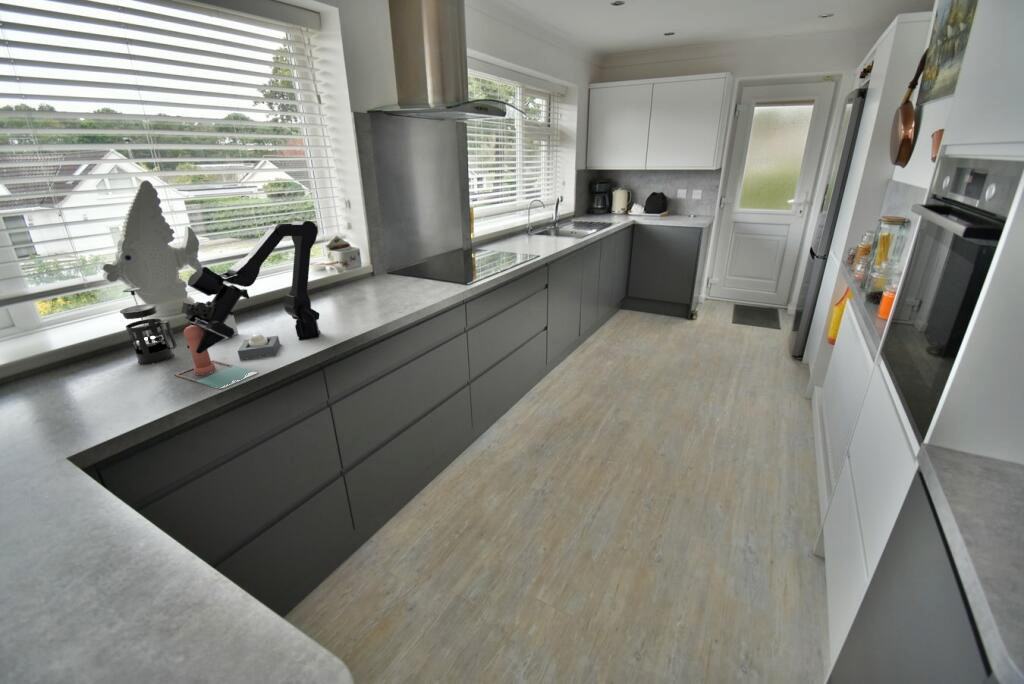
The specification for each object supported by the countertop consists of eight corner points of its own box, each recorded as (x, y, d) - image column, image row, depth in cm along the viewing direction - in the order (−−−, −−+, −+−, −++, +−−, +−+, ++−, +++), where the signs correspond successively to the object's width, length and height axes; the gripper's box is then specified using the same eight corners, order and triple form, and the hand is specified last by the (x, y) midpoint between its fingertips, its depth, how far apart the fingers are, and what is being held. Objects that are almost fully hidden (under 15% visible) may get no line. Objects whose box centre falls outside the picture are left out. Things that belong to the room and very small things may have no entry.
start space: (213, 360, 142) (213, 360, 142) (235, 366, 137) (235, 365, 137) (174, 375, 133) (174, 374, 133) (197, 382, 128) (196, 381, 128)
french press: (129, 366, 140) (101, 294, 132) (144, 355, 149) (118, 286, 140) (173, 361, 143) (148, 290, 134) (184, 350, 151) (162, 282, 143)
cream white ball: (270, 344, 150) (266, 330, 148) (267, 350, 145) (263, 335, 144) (252, 346, 149) (248, 332, 147) (249, 352, 144) (245, 338, 142)
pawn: (217, 366, 138) (204, 321, 132) (213, 373, 133) (198, 327, 128) (198, 369, 136) (183, 324, 131) (192, 376, 132) (177, 329, 126)
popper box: (280, 343, 153) (277, 335, 152) (275, 354, 144) (272, 346, 143) (247, 348, 151) (244, 339, 150) (240, 359, 142) (237, 351, 141)
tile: (234, 367, 137) (234, 365, 137) (258, 373, 132) (257, 371, 132) (197, 382, 128) (196, 380, 128) (220, 389, 123) (220, 388, 123)
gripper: (183, 285, 134) (151, 332, 130) (210, 294, 124) (177, 345, 120) (219, 304, 143) (190, 348, 139) (247, 313, 132) (217, 362, 128)
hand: (193, 350), depth 131 cm, fingers open, 6 cm apart
